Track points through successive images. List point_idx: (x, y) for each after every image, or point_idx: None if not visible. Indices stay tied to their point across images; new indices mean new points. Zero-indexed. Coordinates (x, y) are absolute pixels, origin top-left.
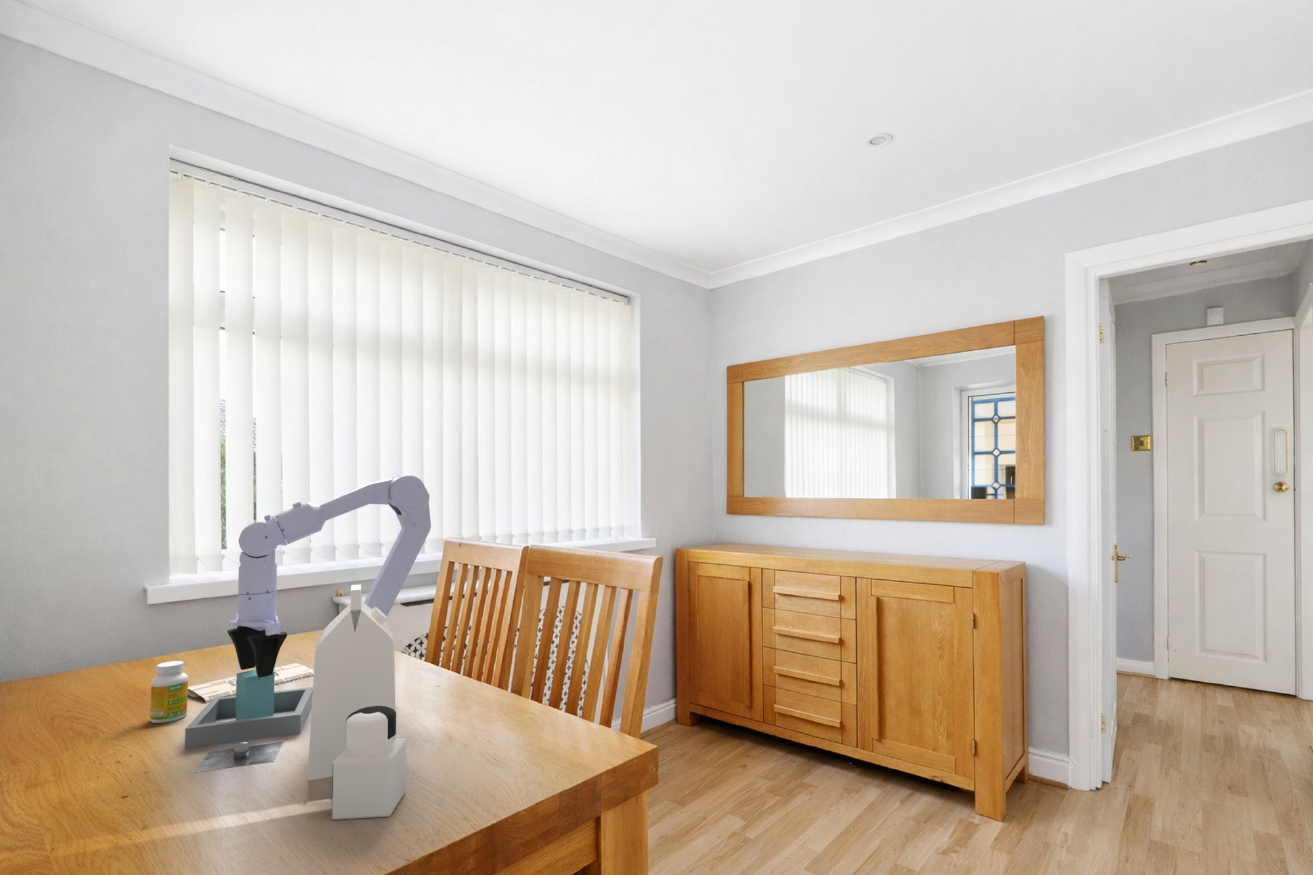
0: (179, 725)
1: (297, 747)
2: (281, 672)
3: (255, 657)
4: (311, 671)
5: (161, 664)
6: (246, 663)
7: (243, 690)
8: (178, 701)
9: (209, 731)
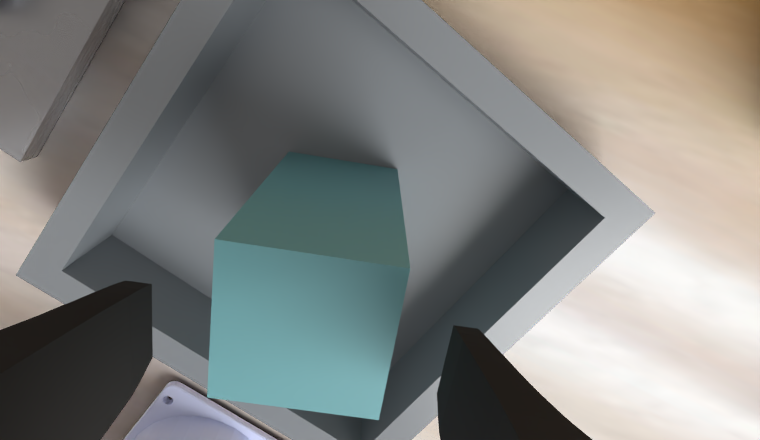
0: (699, 84)
1: (6, 186)
2: None
3: (6, 346)
4: None
5: None
6: (452, 375)
7: (282, 212)
8: None
9: None
